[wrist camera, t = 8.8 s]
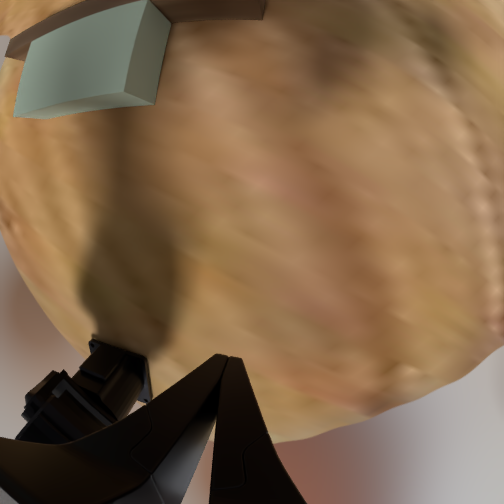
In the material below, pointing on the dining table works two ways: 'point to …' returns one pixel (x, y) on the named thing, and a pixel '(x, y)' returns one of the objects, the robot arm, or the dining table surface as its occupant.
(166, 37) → the sage block
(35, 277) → the dining table surface
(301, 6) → the dining table surface
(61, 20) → the walnut board
